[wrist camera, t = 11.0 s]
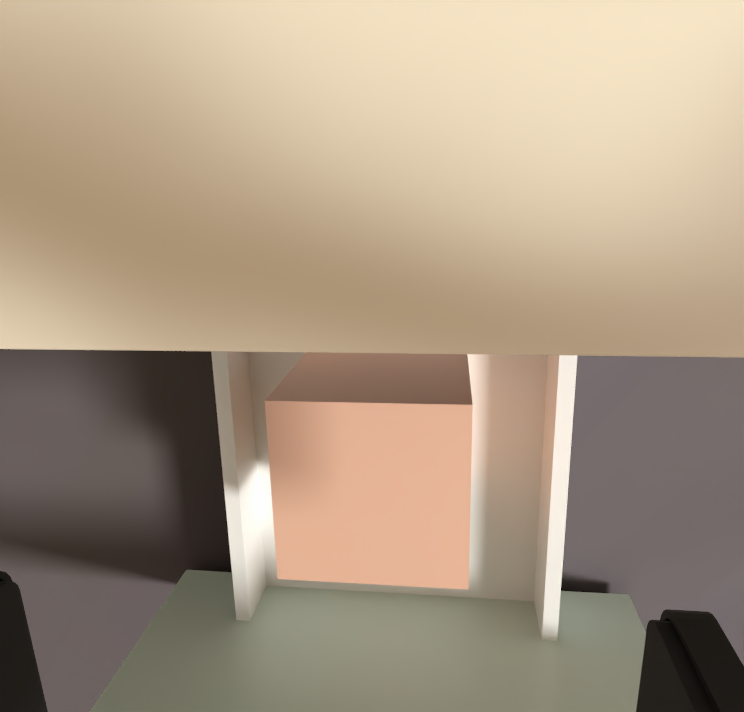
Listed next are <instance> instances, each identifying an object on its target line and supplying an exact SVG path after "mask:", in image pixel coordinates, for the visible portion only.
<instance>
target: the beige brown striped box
mask: <svg viewBox="0 0 744 712" xmlns="http://www.w3.org/2000/svg"><path fill="white" fill-rule="evenodd" d="M0 349H57V350H145V351H233V352H321V353H409V354H497V355H585V356H673V357H744V0H0Z"/></svg>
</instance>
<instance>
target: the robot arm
mask: <svg viewBox="0 0 744 712" xmlns="http://www.w3.org/2000/svg"><path fill="white" fill-rule="evenodd" d="M0 712H48V711H47V707H46V702H45V698H44V694H43V689H42V685H41V681H40V676H39V672H38V667H37V663H36V659H35V654H34V650H33V646H32V641H31V637H30V633H29V628H28V624H27V619H26V615H25V611H24V606H23V602H22V598H21V593H20V589H19V587H18V585H17V584H16V583H14V582H12V580H11V577H10V576H9V575H8V574H7V573H6V572H2V571H0ZM636 712H744V666H743V664H742V663H741V661H740V659H739V657H738V656H737V654H736V652H735V651H734V649H733V647H732V646H731V644H730V642H729V640H728V639H727V637H726V635H725V634H724V632H723V630H722V628H721V627H720V625H719V623H718V622H717V620H716V619H715V617H714V616H713V615H712V614H711V613H709V612H700V611H683V610H664V611H663V613H662V615H661V619H660V620H650V621H649V623H648V625H647V631H646V639H645V646H644V654H643V662H642V669H641V677H640V685H639V693H638V700H637V708H636Z"/></svg>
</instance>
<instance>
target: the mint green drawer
mask: <svg viewBox="0 0 744 712" xmlns="http://www.w3.org/2000/svg"><path fill="white" fill-rule="evenodd" d="M305 353H306V352H233V351H211V355H212V365H213V376H214V387H215V397H216V408H217V419H218V429H219V440H220V451H221V461H222V472H223V483H224V493H225V504H226V515H227V525H228V536H229V547H230V557H231V568H232V572H218V571H200V570H186V571H185V572H184V574H183V575H182V577H181V578H180V580H179V581H178V583H177V584H176V586H175V587H174V589H173V590H172V591H171V593H170V594H169V596H168V597H167V599H166V600H165V602H164V603H163V605H162V606H161V608H160V609H159V611H158V612H157V613H156V615H155V616H154V618H153V619H152V621H151V622H150V624H149V625H148V627H147V628H146V630H145V631H144V633H143V634H142V635H141V637H140V638H139V640H138V641H137V643H136V644H135V646H134V647H133V649H132V650H131V652H130V653H129V655H128V656H127V658H126V659H125V660H124V662H123V663H122V665H121V666H120V668H119V669H118V671H117V672H116V674H115V675H114V677H113V678H112V680H111V681H110V682H109V684H108V685H107V687H106V688H105V690H104V691H103V693H102V694H101V696H100V697H99V699H98V700H97V702H96V703H95V705H94V706H93V707H92V709H91V710H90V712H636V708H637V700H638V693H639V685H640V677H641V669H642V662H643V654H644V646H645V639H646V632H645V630H644V628H643V625H642V623H641V621H640V619H639V616H638V614H637V612H636V609H635V607H634V605H633V602H632V600H631V598H630V596H629V595H626V594H608V593H591V592H573V591H561V581H562V567H563V552H564V538H565V524H566V510H567V495H568V481H569V467H570V453H571V438H572V424H573V410H574V396H575V381H576V367H577V355H497V354H467V356H468V365H469V375H470V385H471V394H472V404H473V410H472V456H471V501H470V547H469V590H466V589H448V588H430V587H412V586H394V585H377V584H359V583H341V582H323V581H305V580H287V579H278V577H277V563H276V550H275V536H274V522H273V509H272V495H271V481H270V468H269V454H268V440H267V427H266V413H265V400H266V399H267V397H268V396H269V395H270V394H271V393H272V392H273V390H274V389H275V388H276V387H277V386H278V384H279V383H280V382H281V381H282V380H283V379H284V377H285V376H286V375H287V374H288V373H289V372H290V370H291V369H292V368H293V367H294V366H295V364H296V363H297V362H298V361H299V360H300V359H301V357H302V356H303V355H304V354H305Z"/></svg>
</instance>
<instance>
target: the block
mask: <svg viewBox="0 0 744 712" xmlns="http://www.w3.org/2000/svg"><path fill="white" fill-rule="evenodd" d="M472 410H473V404H472V394H471V385H470V375H469V365H468V356H467V354H409V353H321V352H306V353H305V354H304V355H303V356H302V357H301V359H300V360H299V361H298V362H297V363H296V364H295V366H294V367H293V368H292V369H291V370H290V372H289V373H288V374H287V375H286V376H285V377H284V379H283V380H282V381H281V382H280V383H279V384H278V386H277V387H276V388H275V389H274V390H273V392H272V393H271V394H270V395H269V396H268V397H267V399H266V400H265V413H266V427H267V440H268V454H269V468H270V481H271V495H272V509H273V522H274V536H275V550H276V563H277V577H278V579H287V580H305V581H323V582H341V583H359V584H377V585H394V586H412V587H430V588H448V589H466V590H469V547H470V501H471V456H472Z"/></svg>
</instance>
